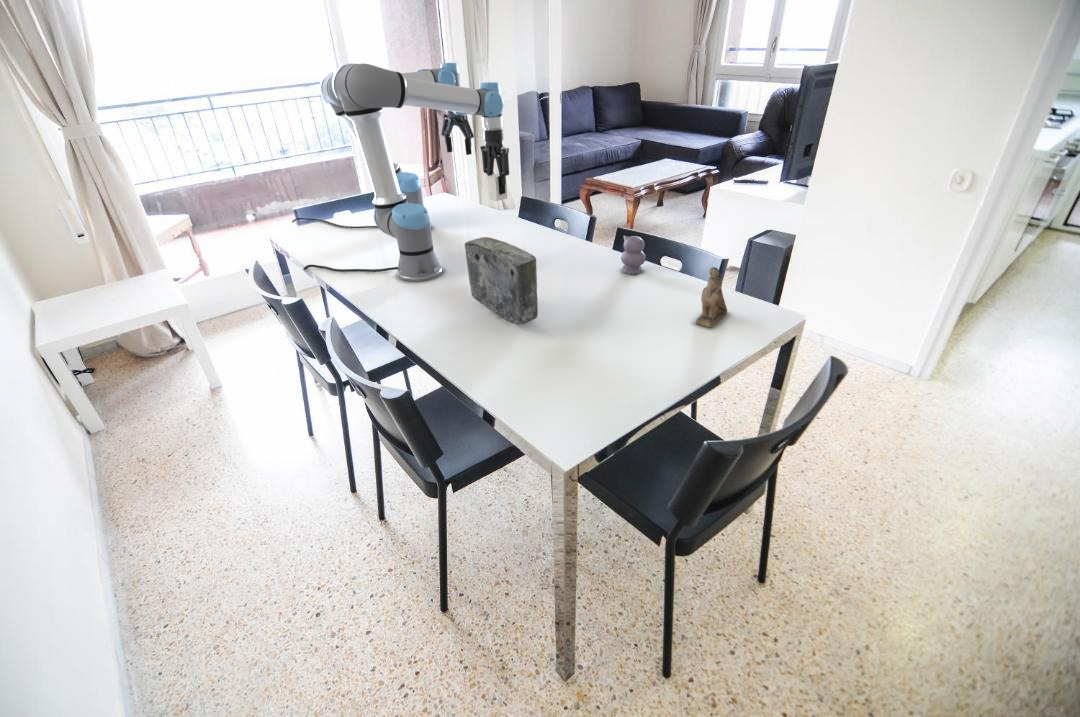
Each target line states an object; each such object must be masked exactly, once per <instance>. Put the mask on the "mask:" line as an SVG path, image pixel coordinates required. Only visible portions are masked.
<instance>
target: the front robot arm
mask: <svg viewBox="0 0 1080 717" xmlns="http://www.w3.org/2000/svg"><path fill="white" fill-rule="evenodd" d="M333 73H334V76H333V79H332V87H333V91H334V94H335V96H336V97H337V98H338V100H339V101H340V102H341V103H342V105H343V108H344V111H345V115H346V117H348V118H349V119H350V120H352V121H353V124H354V127H355V130H356V134H357V137H358V140H359V144H360V145H359V144H358V145H359V147H360V150H361V154H362V157H363V160H364V163H365V166H366V170H367V173H368V176H369V179H370V183H371V186H372V189H373V192H374V198H373V200H372V205H373V207H374V209H373V215H372V217H373V221H374V223H375V226H378V227H377V228H378V229H379V230H380V231H381V232H382V233H384V234H386V235H387V236H390V237H392V238H394V239H396V241H397V247H398V251H399V259H398V265H397V266H393V267H386V268H372V269H371V268H334V267H329V266H326V265H318V264H306V266H304V267H303V270H308V268H316V269H324V270H328V271H332V272H339V273H344V272H345V273H348V272H350V273H351V272H354V273H355V272H361V273H362V272H364V273H365V272H366V273H378V272H379V273H381V272H387V271H394V270H397V276H398V278H399V279H400V280H402V281H406V282H413V283H414V282H425V281H429V280H432V279H435V278H438V277H439V276H440V275H441V274H442V273H443V268H442V264H441V263H440V260H439V259H438V256H437V254H436V252H435V250H434V243H433V236H432V230H431V229H432V227H431V228H430V223H431V221H430V215H429V212H428V209H427V208H426V207H425V205H424V206H422V205H420V204H413V203H408V201H407V197H406V195H405V194H404V193H402V192H401V191H400V188H399V185H398V181H397V178H396V174H395V170H394V167H393V163H394V162H393V159H392V156H391V152H390V149H389V145H388V141H387V137H386V134H385V130H384V127H383V124H382V119H381V116H382V113H383V111H384V109H383V108H394V109H402V108H403V107H404V106H407V107H414V108H421V109H430V110H437V111H445V112H446V111H452V112H453V113H454V114H456V115H471V116H472V115H473V116H481V123H482V129H483V132H482V135H483V141H484V142H485V144H484V145H480V147H479V148H480V151H481V158H482V171H483V173H484V174H486V175H487V176H490V175H494V174H495V172H494V169H495V162H496V166H497V170H498V174H499V176H498V182H499V194H500V195H501V194H504V193H505V185H506V184H507V179H506V180H505V177H506V178H507V176H509V175H510V162H509V152H510V148H509V147H506V146H504V143H503V141H504V138H505V137H504V130H503V128H504V127H503V125H504V124H503V110H504V100H503V96H502V93H501V92H502V91H501V86H500V83H499V82H497V81H488V82H487V81H486V82H480V83H479V84H478V89H475V88H470V87H465V86H460V87H459V86H454V85H448V84H442V83H436V82H430V81H424V80H419V79H413V78H407V77H404V76H403V75H402V73H403V72H400V71H395V70H391V69H386V68H383V67H380V66H377V65H373V64H370V63H347V64H344V65H342V66H340V67H338V68H337V69H336V70H335V72H333ZM392 162H393V163H392Z"/></svg>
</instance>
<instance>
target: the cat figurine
mask: <svg viewBox="0 0 1080 717" xmlns="http://www.w3.org/2000/svg"><path fill="white" fill-rule="evenodd" d="M623 249H624V250H623V252H622V253H621V255H620V260H621V262H622V264H623V265H622V273H624V274H628V275H637V274H640V273H642V265H644V264H645V262H646V254H645V253H644V252H643V251H644V249H645V242H644V239H642V238H641V236H637V235H631V236H627V235H624V234H623Z"/></svg>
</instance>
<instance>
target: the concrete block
mask: <svg viewBox="0 0 1080 717" xmlns="http://www.w3.org/2000/svg"><path fill="white" fill-rule="evenodd" d="M464 249H465V250H464V252H465V258H466V265H467V273H468V281H469V287H470V294H471V296H472V298H473V299H474V300H476V301H477V302H479V303H480V304H481V305H483V306H484V307H486V308H487V309H488V310H490V311H491V312H493V313H494V314H496V315H497V316H499V317H500V318H502V319H503V320H505V321H507V322H510V323H511V324H514V325H518V326H522V325H525V324H528V323H530V322H532V321H534V320H536V319H537V318H538V317H539V306H538V300H539V299H538V273H537V272H538V271H537V270H538V268H537V258H536V256H535V255H533V254H531V253H529V252H528V251H526V250H524V249H523V248H520V247H518V246H516V245H513V244H510V243H507V242H506V241H503V240H499V239H496V238H492V237H487V236H483V237H479V238H478V237H477V238H474V239H471V240H468V241H466V242H465V243H464Z"/></svg>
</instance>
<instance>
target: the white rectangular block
mask: <svg viewBox="0 0 1080 717" xmlns="http://www.w3.org/2000/svg"><path fill="white" fill-rule="evenodd" d="M498 176H499V173H494V175H493V174H492V175H490V176H488V175H487V176H486V180H487V191H488V200H489V201H492V202H493V201H494V202H500V201H503V200H507V199H508V186H507V183H506V185H505V193H504V194H501V195H500V194H499V182H498ZM505 180H506V181H507V176H506V177H505Z"/></svg>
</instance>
